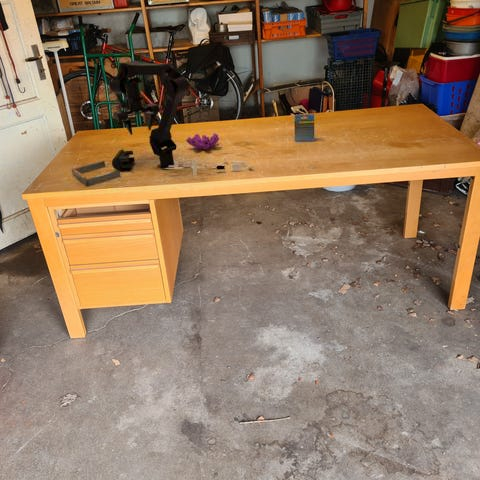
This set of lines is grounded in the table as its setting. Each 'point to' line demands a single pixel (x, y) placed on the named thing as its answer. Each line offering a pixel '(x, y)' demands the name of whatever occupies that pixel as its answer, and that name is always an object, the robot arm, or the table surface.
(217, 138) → the purple flower bowl
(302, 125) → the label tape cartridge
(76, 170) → the frame
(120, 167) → the end cap
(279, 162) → the table surface
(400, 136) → the table surface
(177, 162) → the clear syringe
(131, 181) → the table surface
